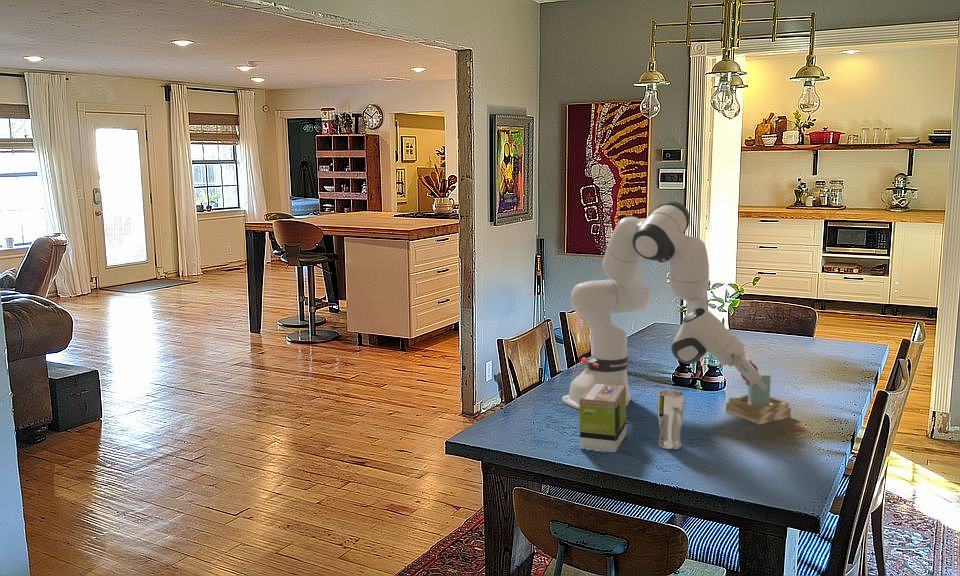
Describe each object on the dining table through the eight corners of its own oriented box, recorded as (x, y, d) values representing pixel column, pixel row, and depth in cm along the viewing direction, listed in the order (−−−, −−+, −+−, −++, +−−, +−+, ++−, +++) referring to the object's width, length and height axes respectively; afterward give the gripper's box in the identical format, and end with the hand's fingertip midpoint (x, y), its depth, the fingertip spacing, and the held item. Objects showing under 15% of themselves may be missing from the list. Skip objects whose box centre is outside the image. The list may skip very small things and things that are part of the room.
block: (751, 407, 235) (753, 375, 233) (747, 402, 240) (749, 370, 238) (769, 408, 234) (770, 375, 233) (764, 402, 239) (766, 371, 237)
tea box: (591, 431, 225) (592, 381, 223) (626, 435, 222) (627, 385, 219) (578, 450, 212) (579, 397, 209) (615, 454, 208) (616, 401, 206)
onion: (758, 385, 267) (760, 362, 265) (741, 384, 268) (742, 362, 267) (756, 380, 272) (757, 358, 271) (739, 380, 274) (740, 357, 272)
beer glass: (651, 446, 214) (652, 393, 211) (665, 439, 218) (667, 387, 216) (673, 452, 209) (675, 398, 206) (687, 445, 213) (689, 392, 211)
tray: (758, 424, 229) (759, 410, 228) (725, 412, 240) (726, 398, 239) (790, 417, 235) (791, 402, 234) (756, 405, 246) (757, 391, 245)
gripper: (744, 352, 224) (778, 386, 225) (730, 336, 244) (761, 367, 245) (728, 367, 226) (761, 401, 226) (715, 350, 246) (746, 380, 246)
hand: (761, 383), depth 236 cm, fingers open, 8 cm apart
